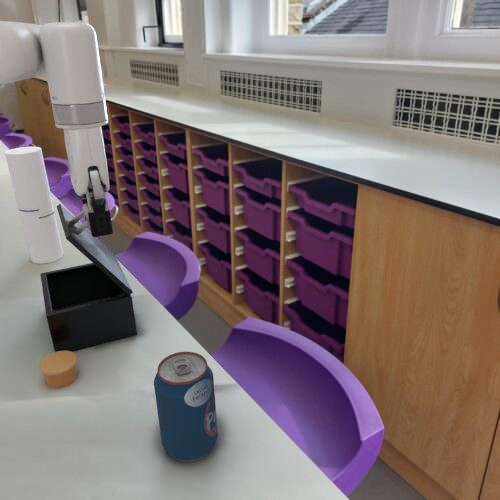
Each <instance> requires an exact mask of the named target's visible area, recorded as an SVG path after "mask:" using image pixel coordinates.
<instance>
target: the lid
mask: <svg viewBox="0 0 500 500" xmlns="http://www.w3.org/2000/svg"><path fill="white" fill-rule="evenodd" d="M81 209H82V211H80V212H79V213H77V215H76V216H74V215H73V214H71V211H69V210H68V209H66V207H64V206H63V205H62V204H61V203H58V205H56V210H57V212H58V216H59V219H60V223H61V226H62V229H63V233H64V237H65V239H66V240H67V241H68V242H69V243H70V244H71V245H72V246H73V247H75V248H76V249H77V250H78V251H79V252H80V253H81V254H82V255H83V256H85V258H87V259H88V260H90V262H91V263H94V264H95V265H96V266H97V267H98V268H99V269H100V270H102V271H103V272H104V273H105V274H106V275H107V276H108V277H109V278H110V279H112V280H113V281H114V282H115V283H116V284H117V285H118V286H119V287H121V288H122V289H123V290H124V291H125V292H126V293H127V294H128V295H131V296H132V294H133V293H134V291H133V289H132V287H131V285H130V283H129V281H128V279H127V277H126V275H125V273H124V271H123V268H122V267H121V265H120V263H119V260H118V259H117V257H116V254H114V252H113V251H111V250H110V248H108V247H107V246H106V245H105V244H104V243H103V242H102V241H101V240H100V239H99V238H98V237H93V236H92V234H91V230H90V229H88V227H90V223H89V217H88V212H90V211H89V206H88V202H86V203H84V204H83V203H82V207H81ZM85 216H86V219H87V220H86V219H85V221H84V222H83V223H81V221H80V220H82V219H83V218H85Z"/></svg>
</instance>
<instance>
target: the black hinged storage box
mask: <svg viewBox="0 0 500 500" xmlns="http://www.w3.org/2000/svg"><path fill="white" fill-rule="evenodd" d="M39 275H40V281H41V282H40V283H41V289H42V295H43V303H44V309H45V316H46V317H45V318H46V321H47V325H48V330H49V333H50V339H51V342H52V347H53V352H58V351H71V352H73V353H75V352H79V351H81V350H85V349H90V348H93V347H98V346H100V345H105V344H108V343H109V344H110V343H112V342H116V341H120V340H123V339H128V338H132V337H136V336H138V329H137V323H136V322H137V321H136V316H135V310H134V304H133V296H132V294H131V295H128V294H127V293H126V292H125V291H124V290H123V289H122V288H121V287H119V286H118V285H117V284H116V283H115V282H114V281H113V280H112V279H110V278H109V277H108V276H107V275H106V274H105V273H104V272H103V271H102V270H100V269H99V268H98V267H97V266H96V265H95V264H94V263H93V262H91V263H90V262H89V263H85V264H81V265H77V266H76V265H75V266H70V267H65V268H61V269H56V270H51V271H45V272H41V273H39Z"/></svg>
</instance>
